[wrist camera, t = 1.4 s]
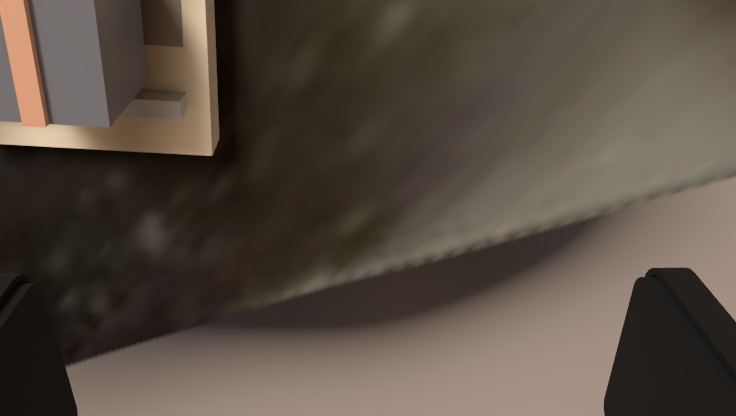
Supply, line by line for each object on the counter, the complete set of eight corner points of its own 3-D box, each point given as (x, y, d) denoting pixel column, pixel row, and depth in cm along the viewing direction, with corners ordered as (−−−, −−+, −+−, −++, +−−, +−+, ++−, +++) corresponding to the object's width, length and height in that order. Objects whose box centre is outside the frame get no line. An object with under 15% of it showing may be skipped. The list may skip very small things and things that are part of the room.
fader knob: (26, 74, 27) (-40, 122, 22) (3, -53, 25) (-78, -29, 20) (147, 81, 27) (106, 130, 23) (136, -43, 25) (88, -17, 20)
